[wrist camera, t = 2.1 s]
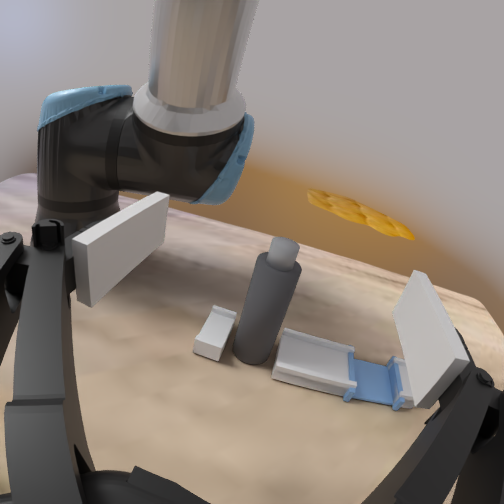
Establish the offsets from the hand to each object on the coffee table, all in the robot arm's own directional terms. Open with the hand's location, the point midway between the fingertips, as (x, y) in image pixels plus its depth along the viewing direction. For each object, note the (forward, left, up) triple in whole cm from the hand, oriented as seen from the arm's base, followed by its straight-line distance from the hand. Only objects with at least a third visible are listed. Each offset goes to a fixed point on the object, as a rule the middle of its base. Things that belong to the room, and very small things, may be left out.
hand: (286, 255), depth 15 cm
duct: (+7, +10, -17) cm, 21 cm away
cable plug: (0, +10, -17) cm, 20 cm away
